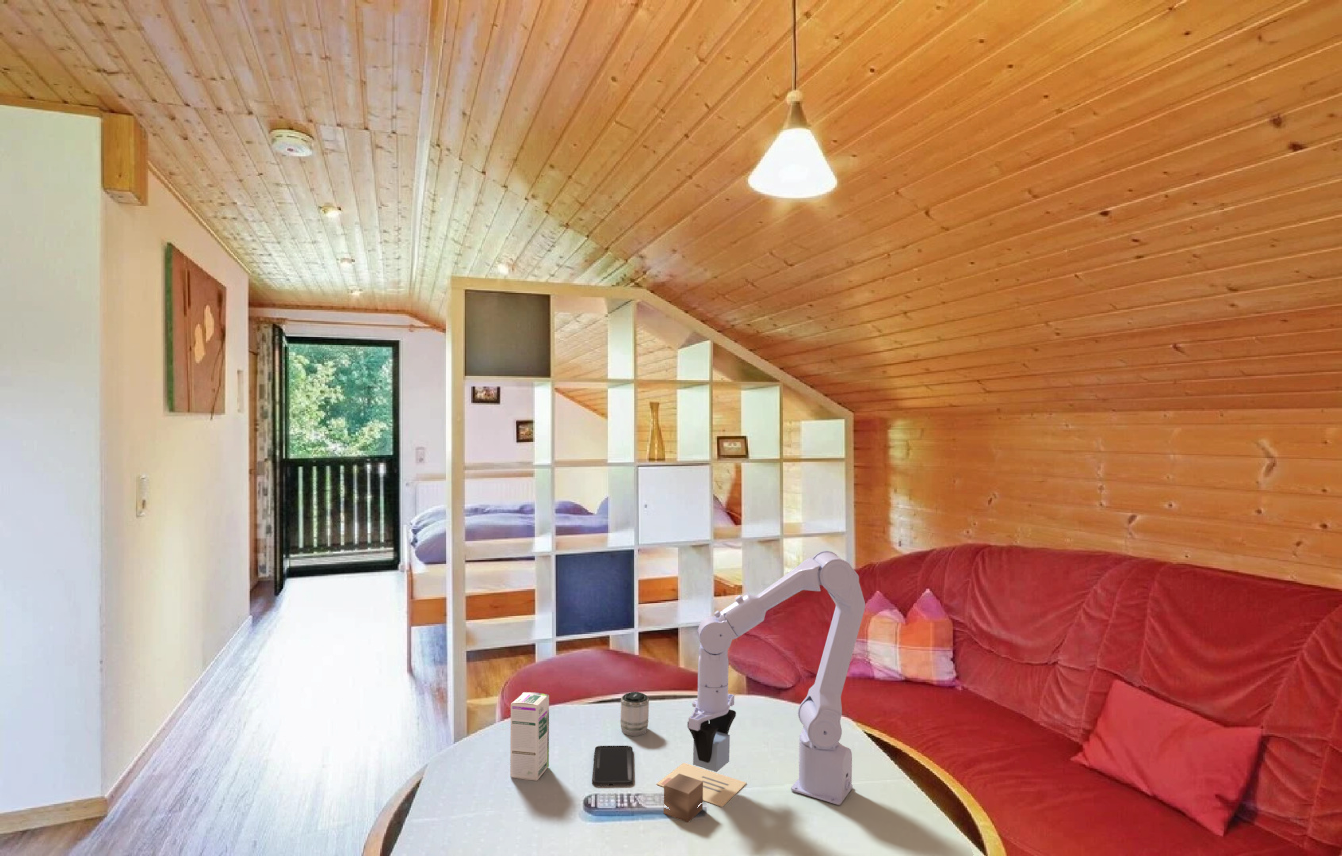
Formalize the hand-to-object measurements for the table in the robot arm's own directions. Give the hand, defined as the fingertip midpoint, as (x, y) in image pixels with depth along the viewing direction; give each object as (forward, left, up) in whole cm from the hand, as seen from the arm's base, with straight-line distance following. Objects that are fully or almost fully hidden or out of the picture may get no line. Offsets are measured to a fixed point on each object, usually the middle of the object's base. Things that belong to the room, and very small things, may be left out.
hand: (711, 754), depth 129 cm
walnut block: (0, +10, -6) cm, 12 cm away
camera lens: (+26, -12, -6) cm, 29 cm away
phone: (+20, +4, -7) cm, 21 cm away
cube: (0, 0, -2) cm, 2 cm away
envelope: (+2, 0, -6) cm, 6 cm away
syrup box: (+32, +15, -6) cm, 36 cm away
